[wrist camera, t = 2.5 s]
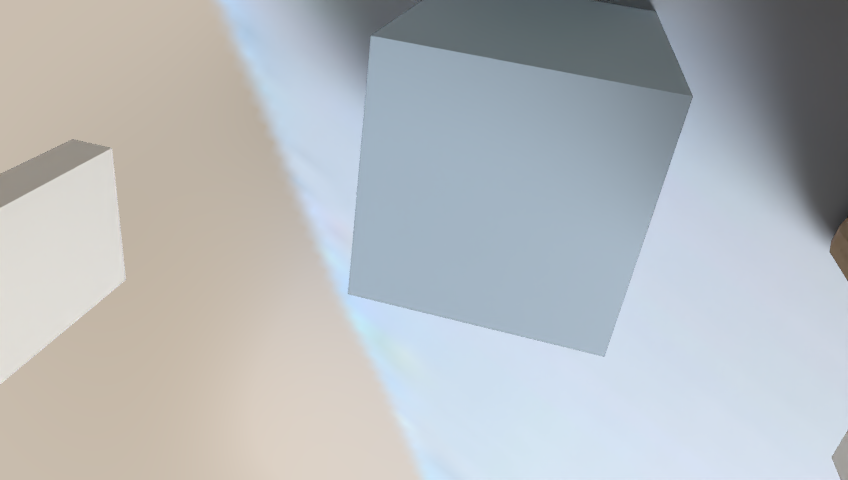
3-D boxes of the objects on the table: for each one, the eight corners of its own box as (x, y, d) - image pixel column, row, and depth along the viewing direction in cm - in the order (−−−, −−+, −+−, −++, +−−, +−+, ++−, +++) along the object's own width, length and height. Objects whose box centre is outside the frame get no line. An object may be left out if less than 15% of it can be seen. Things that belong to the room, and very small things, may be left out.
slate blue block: (457, -24, 20) (370, 35, 13) (655, 11, 20) (692, 96, 12) (430, 157, 23) (347, 294, 16) (602, 193, 23) (604, 356, 15)
